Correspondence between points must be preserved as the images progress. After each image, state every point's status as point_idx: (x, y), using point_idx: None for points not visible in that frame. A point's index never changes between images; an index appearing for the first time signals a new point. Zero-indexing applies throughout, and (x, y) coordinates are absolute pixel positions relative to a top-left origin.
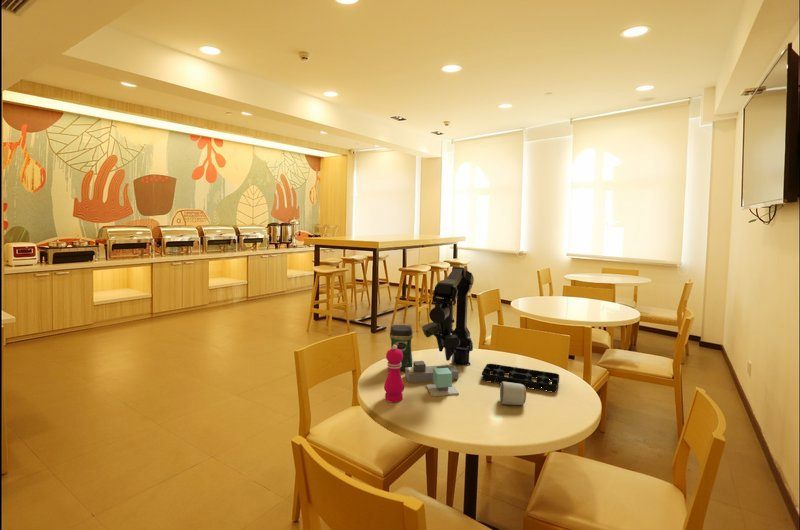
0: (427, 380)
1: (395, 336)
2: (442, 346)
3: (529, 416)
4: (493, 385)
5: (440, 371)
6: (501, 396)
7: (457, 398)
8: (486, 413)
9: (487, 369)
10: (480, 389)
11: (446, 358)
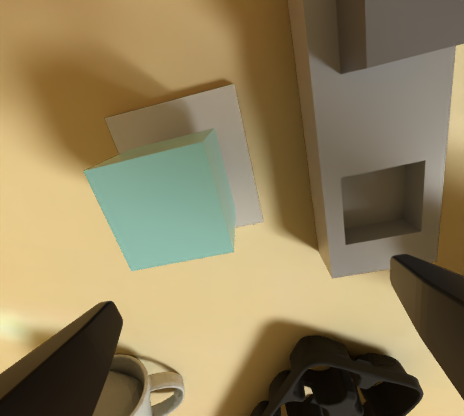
0: (300, 93)
1: None
2: (437, 341)
3: None
4: (260, 356)
5: (146, 196)
6: (140, 370)
7: None
8: (28, 307)
9: (357, 380)
10: (220, 316)
11: (76, 320)
